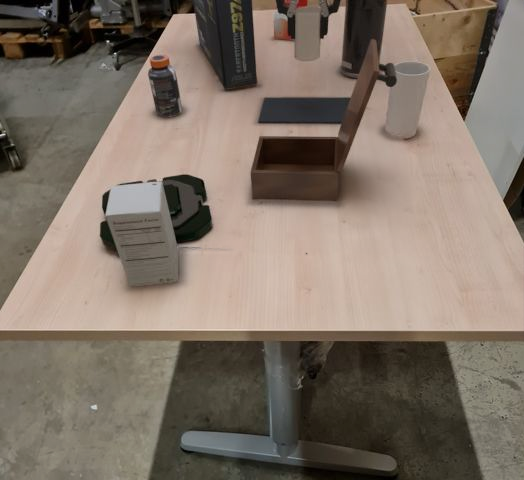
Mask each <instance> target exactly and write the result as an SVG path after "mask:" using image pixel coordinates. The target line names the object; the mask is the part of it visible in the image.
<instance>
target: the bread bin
mask: <svg viewBox="0 0 524 480" xmlns="http://www.w3.org/2000/svg"><path fill="white" fill-rule="evenodd" d="M337 154H338V136H296V135H295V136H292V135H291V136H283V135H281V136H279V135H278V136H277V135H274V136H273V135H259V137H258V141H257V144H256V149H255V153H254V157H253V161H252V165H251V169H250V185H251V196H252V197H251V198H252V200H275V201H277V200H279V201H280V200H281V201H319V202H323V201H325V202H337V201H338V190H339V180H340V171H337Z"/></svg>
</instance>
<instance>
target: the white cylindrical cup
mask: <svg viewBox="0 0 524 480" xmlns="http://www.w3.org/2000/svg"><path fill="white" fill-rule="evenodd" d="M394 66H395V72H396V78H397V82H396V84H395V85H394V86H393V87H389V92H388V93H389V94H388V101H387V107H386V108H387V109H386V116H385V117H386V118H385V125H384V130H385V131H386V132H387V133H388V134H391V135H393V136H397V137H399V136H400V137H402V139H403V140H406V139H410V138H413V137H414V136H415V135H416V134H417V130H418V126H419V122H420V118H421V117H420V116H421V114H422V113H421V112H422V107H423V103H424V100H425V94H426V89H427V86H428V82H429V76H430V70H431V67H430V66H429V65H428V64H427V63H424V62H420V61H414V60H407V61H400V62H396V63H395V64H394Z"/></svg>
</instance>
